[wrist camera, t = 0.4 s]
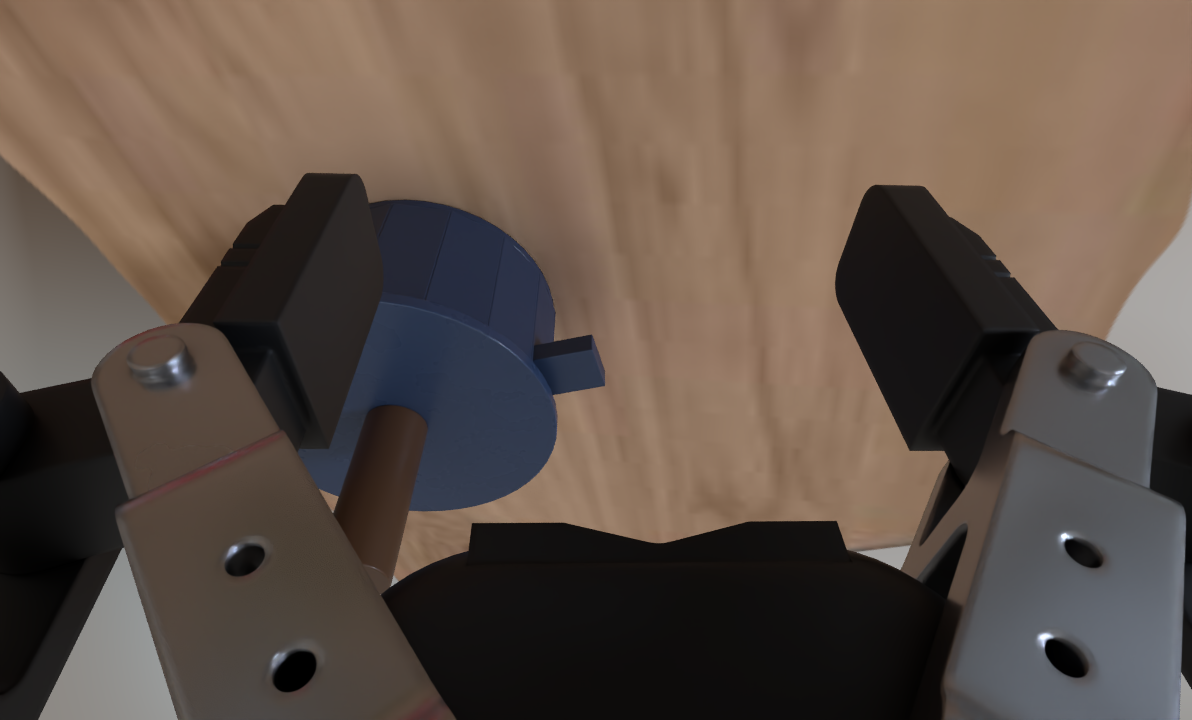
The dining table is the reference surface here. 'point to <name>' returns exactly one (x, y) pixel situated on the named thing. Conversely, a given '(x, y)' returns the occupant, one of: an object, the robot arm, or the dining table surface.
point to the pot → (481, 283)
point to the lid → (430, 426)
